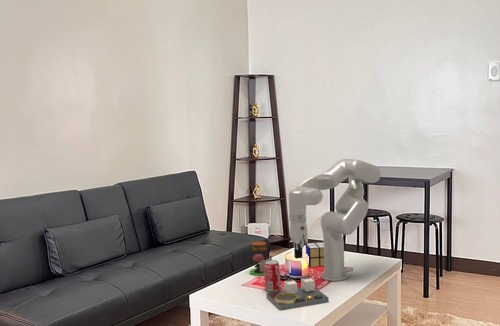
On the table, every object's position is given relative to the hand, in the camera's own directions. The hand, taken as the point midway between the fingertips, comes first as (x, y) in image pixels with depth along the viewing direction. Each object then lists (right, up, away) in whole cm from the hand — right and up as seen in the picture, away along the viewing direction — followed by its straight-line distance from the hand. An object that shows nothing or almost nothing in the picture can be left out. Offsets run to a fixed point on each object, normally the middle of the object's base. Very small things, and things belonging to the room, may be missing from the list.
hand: (298, 257), depth 246 cm
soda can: (-11, -15, +2) cm, 19 cm away
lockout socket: (-7, -15, -17) cm, 23 cm away
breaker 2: (+4, -13, -6) cm, 15 cm away
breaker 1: (-4, -13, -9) cm, 17 cm away
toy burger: (-17, -12, +27) cm, 34 cm away
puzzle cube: (+13, -10, +38) cm, 41 cm away
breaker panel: (-2, -16, -12) cm, 20 cm away
